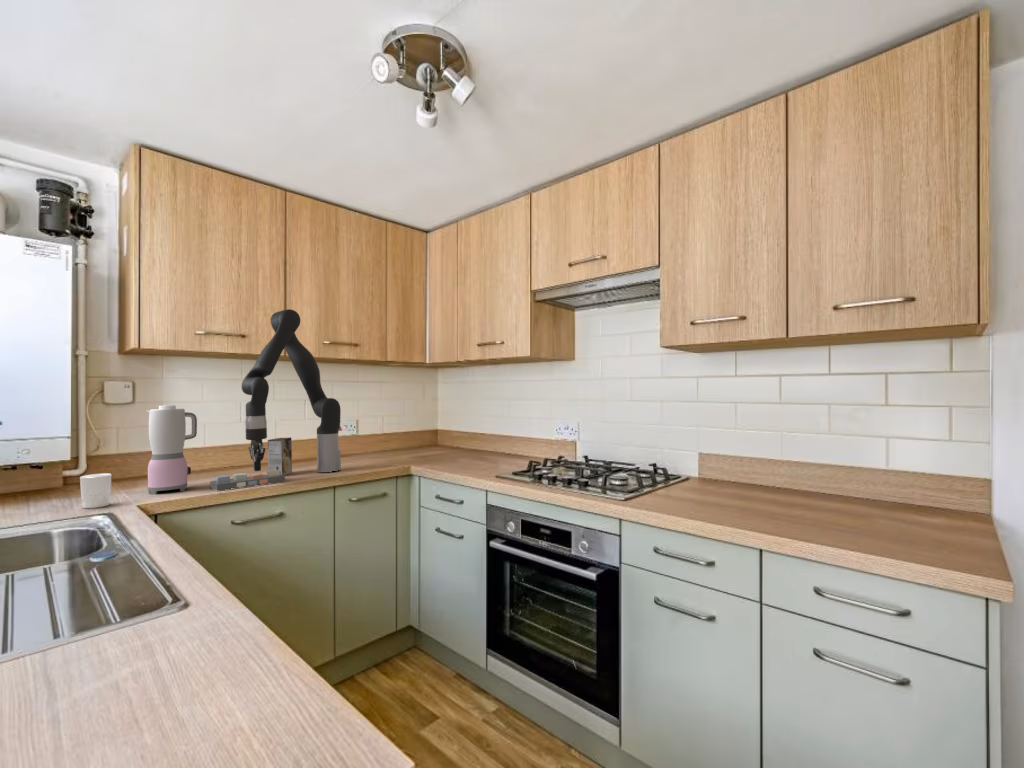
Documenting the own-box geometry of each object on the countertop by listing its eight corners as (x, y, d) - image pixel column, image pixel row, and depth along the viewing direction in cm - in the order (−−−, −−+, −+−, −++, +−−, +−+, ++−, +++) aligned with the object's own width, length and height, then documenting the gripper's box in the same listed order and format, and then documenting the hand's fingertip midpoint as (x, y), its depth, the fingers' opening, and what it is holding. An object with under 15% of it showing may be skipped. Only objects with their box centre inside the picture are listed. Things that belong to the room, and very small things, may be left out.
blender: (149, 495, 175) (148, 406, 176) (144, 491, 184) (144, 406, 185) (201, 489, 186) (200, 404, 186) (194, 485, 195) (193, 404, 195)
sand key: (276, 476, 203) (275, 469, 203) (279, 477, 200) (279, 470, 200) (265, 477, 200) (265, 470, 200) (269, 478, 197) (268, 471, 197)
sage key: (244, 480, 194) (244, 473, 194) (247, 481, 191) (247, 474, 191) (232, 482, 191) (232, 474, 192) (235, 483, 189) (235, 475, 189)
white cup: (79, 506, 160) (79, 475, 161) (110, 502, 166) (110, 472, 166) (81, 510, 155) (80, 478, 155) (113, 505, 160) (112, 475, 160)
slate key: (227, 482, 190) (226, 475, 190) (230, 484, 187) (229, 476, 187) (215, 484, 187) (215, 476, 187) (218, 485, 184) (218, 477, 184)
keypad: (276, 479, 205) (275, 473, 205) (284, 481, 198) (284, 475, 198) (210, 487, 189) (210, 481, 189) (217, 491, 181) (217, 484, 181)
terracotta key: (260, 480, 198) (260, 473, 198) (263, 482, 196) (263, 474, 196) (249, 482, 196) (249, 474, 196) (252, 483, 193) (252, 475, 193)
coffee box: (278, 473, 220) (277, 437, 221) (292, 473, 220) (292, 437, 221) (267, 477, 211) (267, 439, 211) (282, 476, 211) (282, 439, 211)
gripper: (271, 427, 194) (273, 471, 194) (260, 426, 203) (261, 467, 203) (251, 428, 189) (252, 473, 188) (240, 427, 198) (242, 470, 198)
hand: (257, 470), depth 196 cm, fingers closed
